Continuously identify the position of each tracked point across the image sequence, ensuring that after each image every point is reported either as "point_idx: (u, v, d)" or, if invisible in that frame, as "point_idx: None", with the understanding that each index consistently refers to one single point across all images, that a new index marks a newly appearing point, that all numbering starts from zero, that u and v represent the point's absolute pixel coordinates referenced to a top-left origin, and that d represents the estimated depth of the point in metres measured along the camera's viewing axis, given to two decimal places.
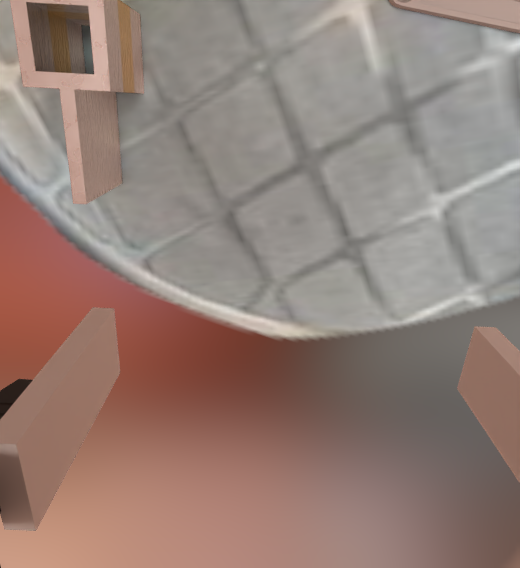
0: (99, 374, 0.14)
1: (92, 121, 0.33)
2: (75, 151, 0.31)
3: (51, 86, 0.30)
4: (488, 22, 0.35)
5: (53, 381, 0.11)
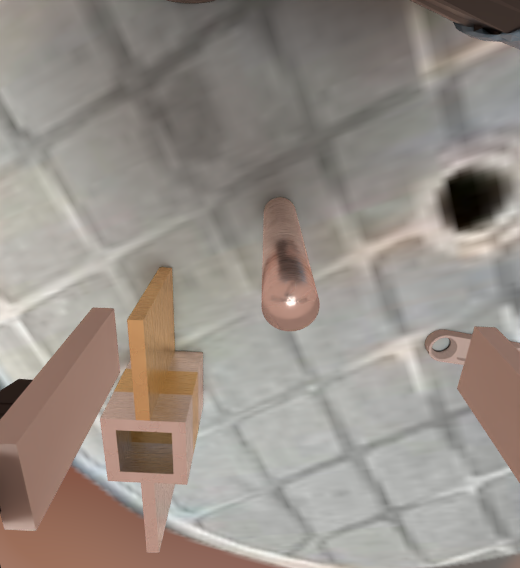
0: (99, 374, 0.14)
1: None
2: (152, 520, 0.34)
3: (133, 481, 0.32)
4: None
5: (53, 381, 0.11)
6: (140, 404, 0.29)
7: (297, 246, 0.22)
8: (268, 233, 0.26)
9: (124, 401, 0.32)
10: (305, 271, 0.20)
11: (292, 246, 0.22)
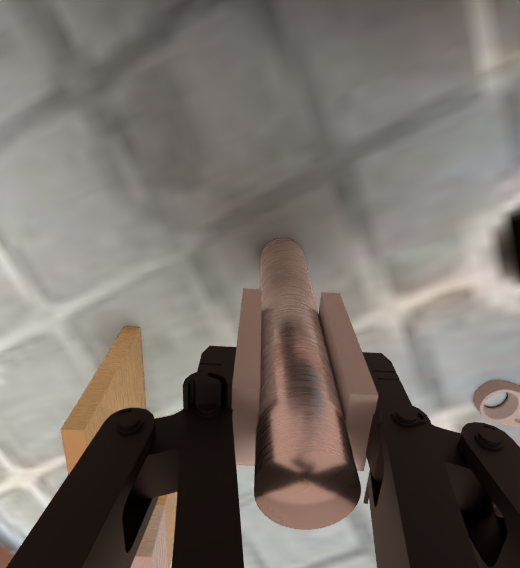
0: None
1: None
2: None
3: None
4: None
5: (254, 345, 0.13)
6: None
7: (313, 345, 0.14)
8: (267, 308, 0.17)
9: None
10: (332, 415, 0.11)
11: (306, 347, 0.14)
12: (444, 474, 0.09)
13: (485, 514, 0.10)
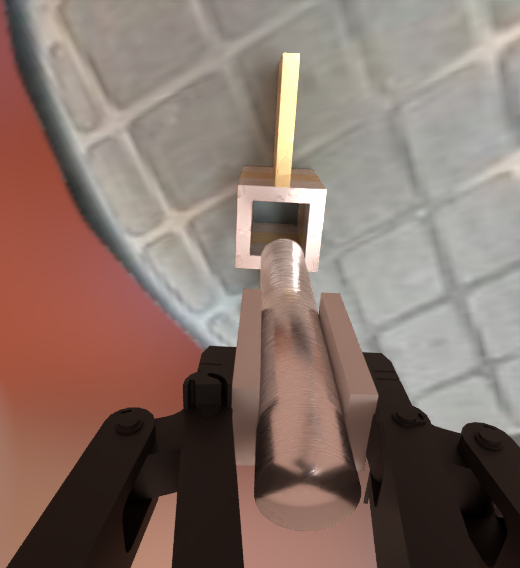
0: None
1: None
2: None
3: None
4: None
5: (254, 345, 0.13)
6: (282, 165, 0.28)
7: (313, 346, 0.14)
8: (267, 309, 0.17)
9: (255, 180, 0.31)
10: (332, 417, 0.11)
11: (306, 348, 0.14)
12: (444, 474, 0.09)
13: (485, 514, 0.10)
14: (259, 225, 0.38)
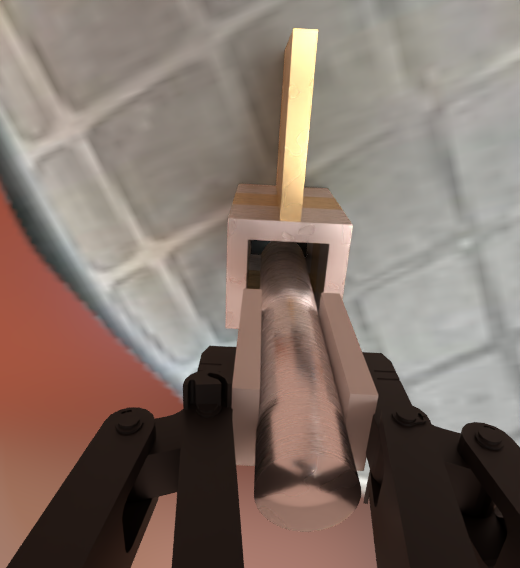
0: None
1: None
2: None
3: None
4: None
5: (254, 345, 0.13)
6: (291, 192, 0.20)
7: (313, 346, 0.14)
8: (267, 309, 0.17)
9: (253, 210, 0.22)
10: (332, 417, 0.11)
11: (306, 348, 0.14)
12: (444, 474, 0.09)
13: (485, 514, 0.10)
14: (258, 259, 0.30)
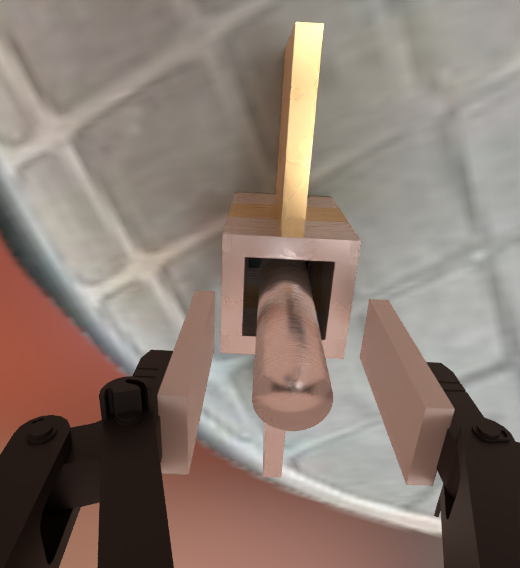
0: (208, 348, 0.16)
1: None
2: None
3: None
4: None
5: (192, 349, 0.13)
6: (292, 205, 0.18)
7: (302, 300, 0.17)
8: (265, 276, 0.20)
9: (250, 223, 0.20)
10: (313, 346, 0.14)
11: (296, 301, 0.17)
12: None
13: None
14: (257, 273, 0.28)
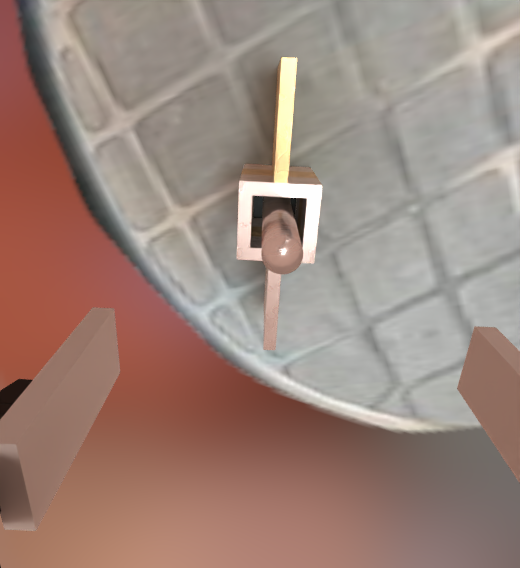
0: (99, 374, 0.14)
1: None
2: (273, 309, 0.35)
3: None
4: None
5: (53, 381, 0.11)
6: (281, 162, 0.30)
7: (288, 216, 0.29)
8: (266, 209, 0.33)
9: (255, 177, 0.33)
10: (293, 231, 0.27)
11: (284, 216, 0.29)
12: None
13: None
14: (259, 220, 0.40)
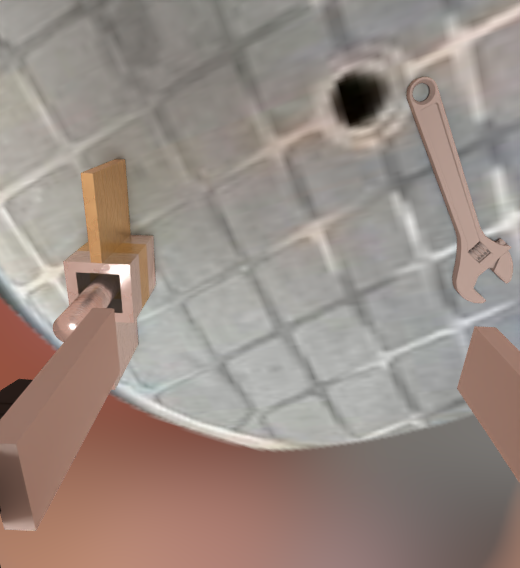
0: (99, 374, 0.14)
1: (118, 327, 0.45)
2: None
3: None
4: (436, 168, 0.43)
5: (53, 381, 0.11)
6: (93, 248, 0.38)
7: (96, 292, 0.38)
8: None
9: (84, 255, 0.41)
10: (83, 310, 0.35)
11: (91, 292, 0.37)
12: None
13: None
14: None
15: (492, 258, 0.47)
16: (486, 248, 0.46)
